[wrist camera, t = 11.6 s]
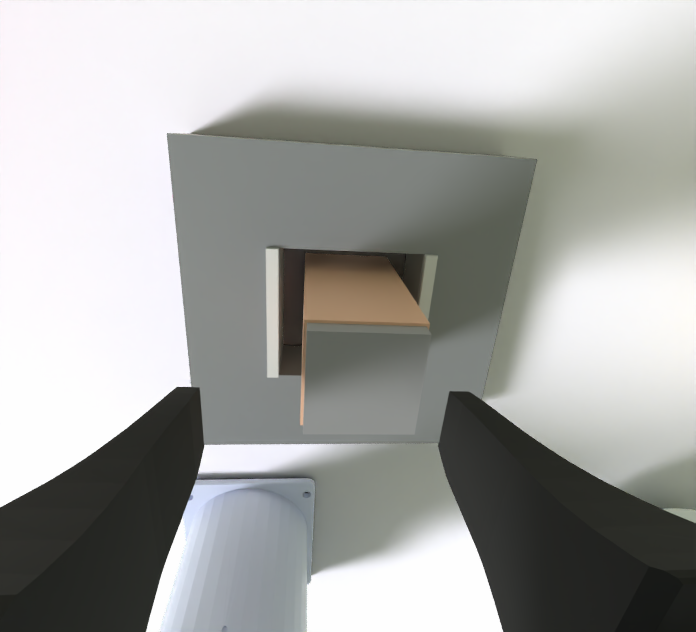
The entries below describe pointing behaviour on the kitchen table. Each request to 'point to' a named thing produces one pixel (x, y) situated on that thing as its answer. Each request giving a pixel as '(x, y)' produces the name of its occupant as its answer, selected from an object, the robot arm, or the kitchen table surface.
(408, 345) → the plug
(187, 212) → the socket block
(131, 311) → the kitchen table surface
